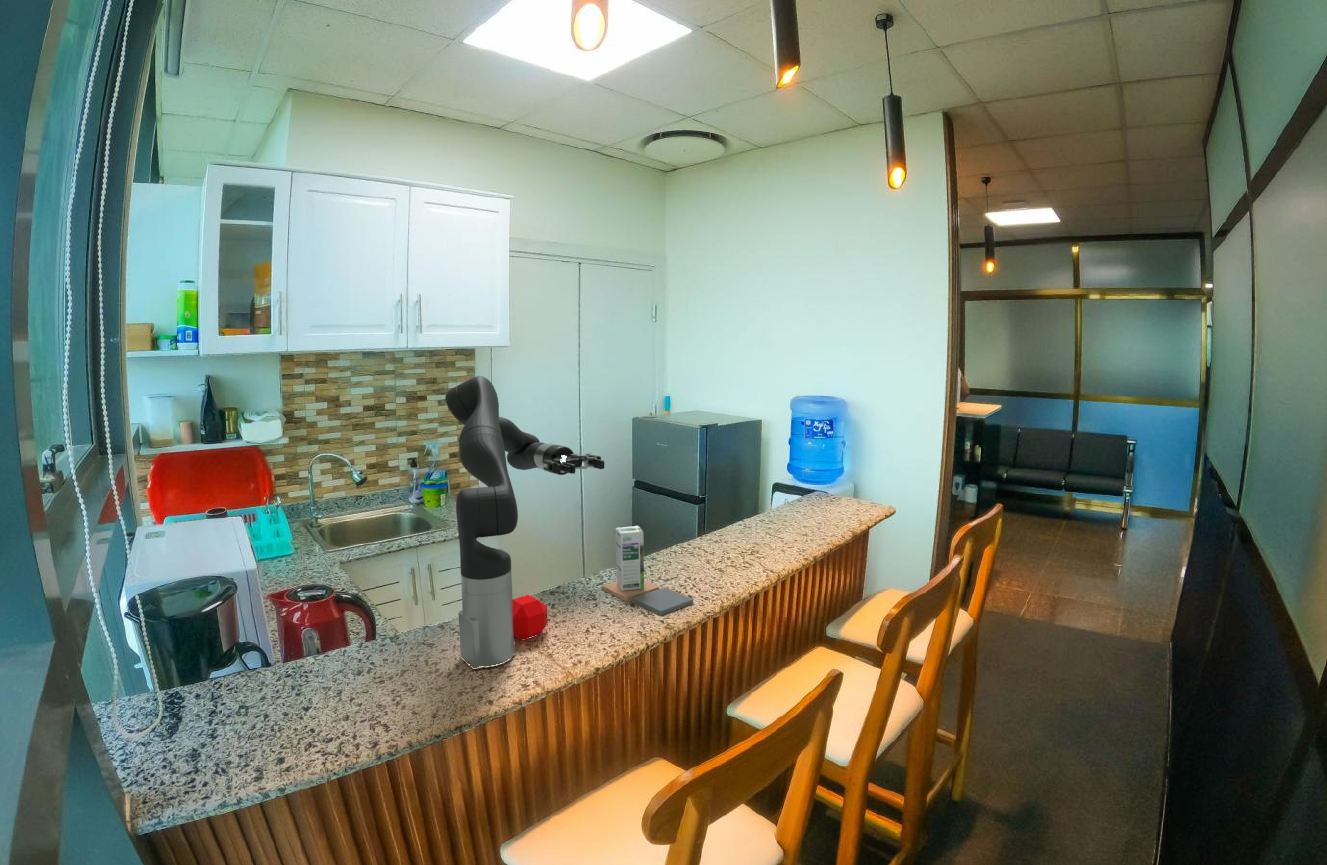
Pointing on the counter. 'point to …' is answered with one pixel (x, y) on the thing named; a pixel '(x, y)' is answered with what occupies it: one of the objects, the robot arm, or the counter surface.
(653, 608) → the slate tile
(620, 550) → the syrup box
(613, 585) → the terracotta tile
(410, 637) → the counter surface
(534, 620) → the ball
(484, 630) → the robot arm
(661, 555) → the counter surface
